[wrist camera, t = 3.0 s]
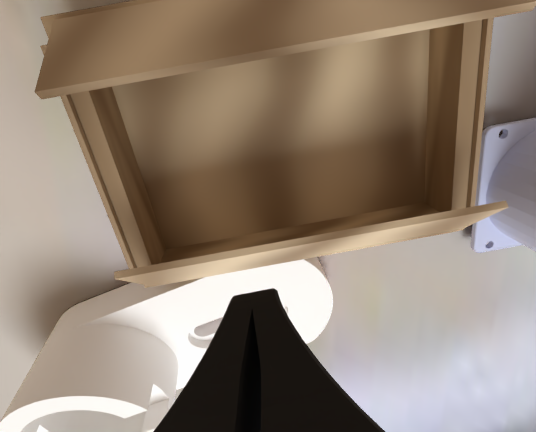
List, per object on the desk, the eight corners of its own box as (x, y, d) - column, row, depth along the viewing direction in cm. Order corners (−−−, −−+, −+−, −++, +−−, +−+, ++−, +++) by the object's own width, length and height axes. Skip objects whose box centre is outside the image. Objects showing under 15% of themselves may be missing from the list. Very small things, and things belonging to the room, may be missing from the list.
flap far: (505, 200, 13) (508, 207, 13) (455, 225, 17) (457, 231, 17) (114, 271, 13) (114, 278, 13) (153, 280, 17) (153, 286, 17)
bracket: (105, 388, 26) (71, 491, 20) (25, 324, 21) (-49, 432, 15) (336, 304, 24) (371, 390, 18) (301, 215, 19) (334, 292, 14)
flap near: (476, -48, 12) (480, -57, 12) (532, 10, 10) (538, 0, 10) (59, 27, 12) (53, 19, 12) (41, 99, 10) (34, 91, 10)
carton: (450, -40, 15) (502, -72, 12) (437, 209, 20) (472, 231, 17) (71, 28, 15) (27, 13, 12) (154, 260, 20) (138, 291, 17)
